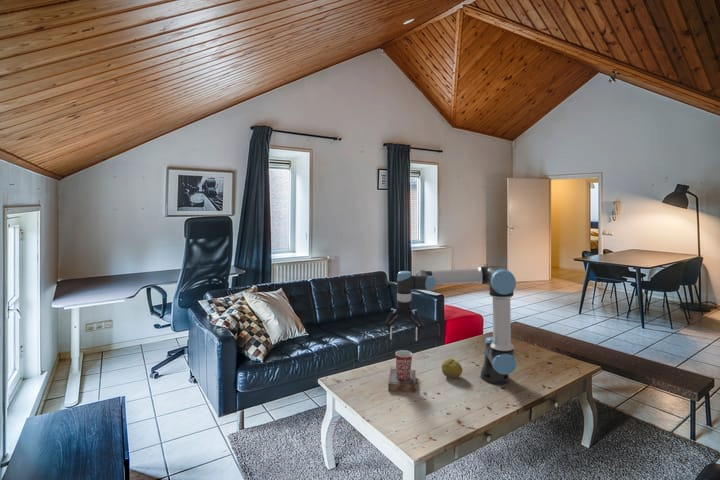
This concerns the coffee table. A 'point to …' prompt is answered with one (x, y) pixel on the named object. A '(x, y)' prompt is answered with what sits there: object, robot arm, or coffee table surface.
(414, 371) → the stand
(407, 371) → the mug
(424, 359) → the coffee table surface
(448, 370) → the fruit
